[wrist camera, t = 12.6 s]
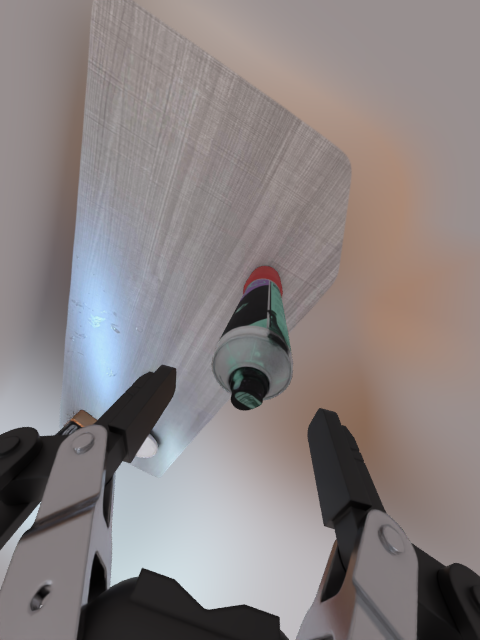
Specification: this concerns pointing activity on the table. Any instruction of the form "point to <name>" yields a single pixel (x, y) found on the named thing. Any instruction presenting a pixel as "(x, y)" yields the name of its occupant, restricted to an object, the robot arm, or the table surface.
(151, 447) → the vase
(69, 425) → the whiskey bottle
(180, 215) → the table surface
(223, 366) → the spray can
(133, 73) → the table surface
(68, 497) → the robot arm
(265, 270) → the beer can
